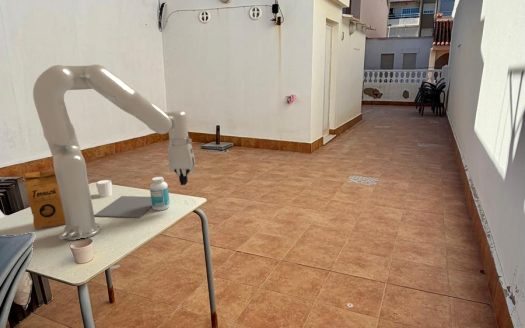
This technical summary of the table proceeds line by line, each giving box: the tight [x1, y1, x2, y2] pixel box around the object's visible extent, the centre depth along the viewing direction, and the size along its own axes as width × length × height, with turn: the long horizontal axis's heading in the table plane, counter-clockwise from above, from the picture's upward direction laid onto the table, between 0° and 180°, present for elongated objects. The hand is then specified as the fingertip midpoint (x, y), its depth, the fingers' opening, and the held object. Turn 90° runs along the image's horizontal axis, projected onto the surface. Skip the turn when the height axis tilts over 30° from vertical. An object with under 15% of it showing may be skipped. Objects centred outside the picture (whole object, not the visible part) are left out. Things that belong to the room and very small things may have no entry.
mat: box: [94, 195, 152, 219], centre depth 151 cm, size 22×20×1 cm
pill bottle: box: [149, 176, 171, 212], centre depth 147 cm, size 8×7×14 cm
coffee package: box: [23, 169, 66, 230], centre depth 133 cm, size 10×12×22 cm
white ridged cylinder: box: [95, 179, 113, 198], centre depth 165 cm, size 7×7×7 cm
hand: (183, 184), depth 144 cm, fingers closed
